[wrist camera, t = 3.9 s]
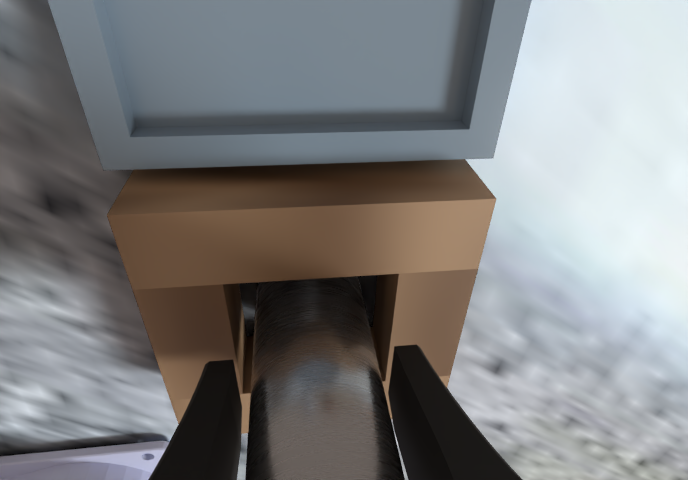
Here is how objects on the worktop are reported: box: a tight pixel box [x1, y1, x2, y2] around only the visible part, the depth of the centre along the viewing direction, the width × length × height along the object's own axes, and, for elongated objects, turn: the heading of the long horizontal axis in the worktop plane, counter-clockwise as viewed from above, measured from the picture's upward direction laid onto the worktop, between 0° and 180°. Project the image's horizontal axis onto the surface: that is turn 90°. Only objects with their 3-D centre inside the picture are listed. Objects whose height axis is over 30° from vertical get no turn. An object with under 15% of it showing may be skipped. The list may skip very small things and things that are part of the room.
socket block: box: [107, 159, 496, 433], centre depth 14 cm, size 9×9×2 cm
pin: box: [246, 276, 405, 480], centre depth 11 cm, size 4×4×9 cm
